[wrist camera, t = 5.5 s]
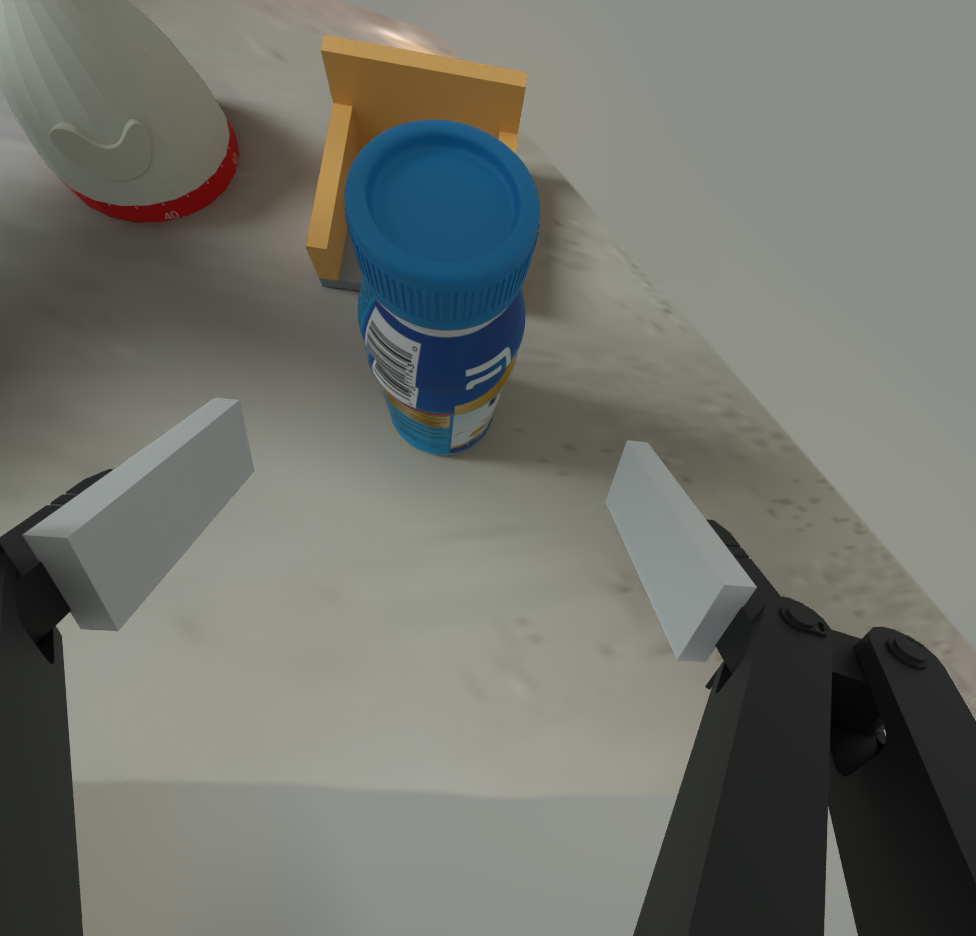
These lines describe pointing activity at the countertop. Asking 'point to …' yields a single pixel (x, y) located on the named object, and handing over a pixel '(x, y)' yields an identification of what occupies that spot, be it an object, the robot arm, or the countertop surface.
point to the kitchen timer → (114, 108)
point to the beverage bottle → (441, 274)
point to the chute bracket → (388, 103)
